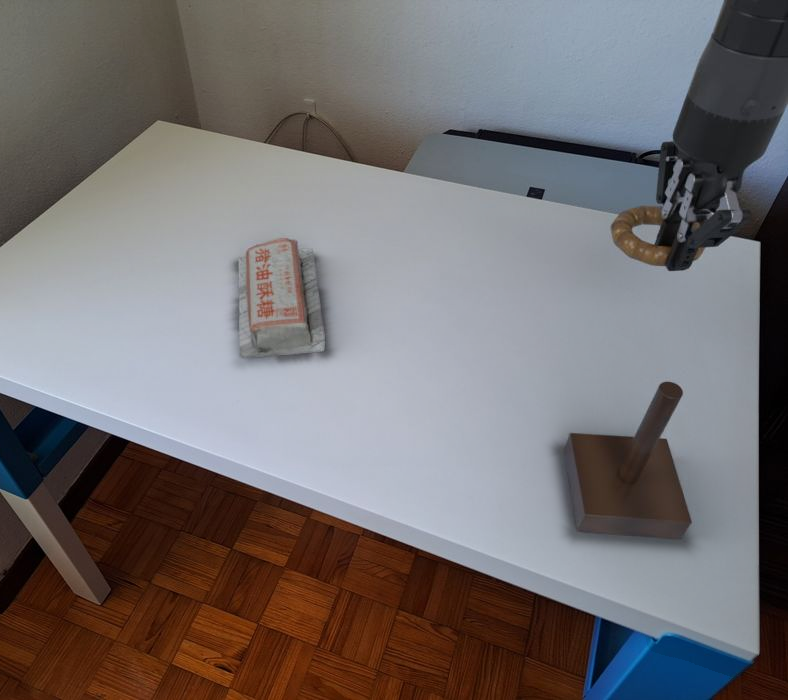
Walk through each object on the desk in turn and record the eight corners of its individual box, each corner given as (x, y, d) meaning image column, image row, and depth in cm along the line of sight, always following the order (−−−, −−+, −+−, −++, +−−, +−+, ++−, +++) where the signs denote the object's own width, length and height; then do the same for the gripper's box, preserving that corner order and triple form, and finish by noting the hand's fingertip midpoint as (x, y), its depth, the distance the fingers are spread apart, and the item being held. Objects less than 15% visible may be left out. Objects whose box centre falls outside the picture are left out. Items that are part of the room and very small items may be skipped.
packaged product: (325, 323, 75) (235, 332, 75) (327, 353, 79) (240, 362, 78) (312, 226, 88) (234, 233, 87) (313, 256, 91) (239, 263, 91)
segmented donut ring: (690, 220, 75) (697, 204, 73) (712, 273, 68) (719, 257, 67) (603, 215, 76) (608, 200, 75) (616, 267, 70) (621, 251, 68)
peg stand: (657, 456, 67) (714, 351, 57) (680, 539, 61) (750, 439, 50) (563, 450, 68) (602, 346, 57) (577, 532, 62) (623, 431, 51)
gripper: (829, 133, 52) (739, 302, 65) (741, 57, 62) (677, 217, 74) (732, 138, 52) (660, 307, 64) (659, 62, 62) (609, 222, 74)
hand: (669, 258), depth 69 cm, fingers closed on segmented donut ring, 2 cm apart
